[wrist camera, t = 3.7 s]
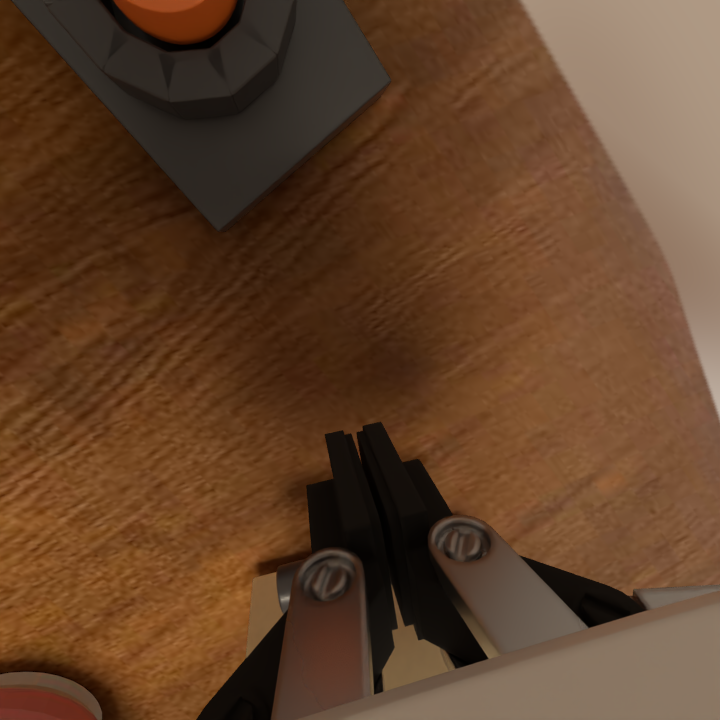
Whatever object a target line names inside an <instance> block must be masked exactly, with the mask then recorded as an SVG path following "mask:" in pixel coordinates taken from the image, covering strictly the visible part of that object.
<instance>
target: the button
mask: <svg viewBox="0 0 720 720" xmlns="http://www.w3.org/2000/svg"><path fill="white" fill-rule="evenodd" d="M113 1H114V2H115V4H116V5H117V6H118V8H119V9H120V10H121V11H122V13H123V14H124V15H125V16H126V17H127V18H128V19H129V20H130V21H131V22H132V23H133V24H134V25H136V26H137V27H138V28H140V29H141V30H142V31H144V32H145V33H147V34H149V35H151V36H152V37H154V38H157V39H159V40H161V41H165V42H168V43H172V44H180V45H189V44H195V43H199V42H202V41H205V40H207V39H209V38H211V37H213V36H214V35H215V34H217V33H218V32H219V31H220V30H221V29H222V28H223V27H224V26H225V25H226V24H227V22H228V21H229V19H230V18H231V16H232V14H233V12H234V9H235V6H236V3H237V0H113Z"/></svg>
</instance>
